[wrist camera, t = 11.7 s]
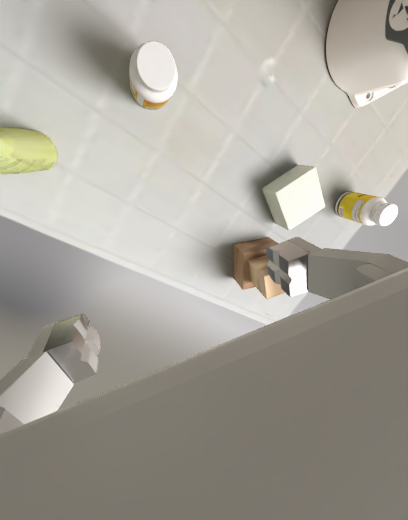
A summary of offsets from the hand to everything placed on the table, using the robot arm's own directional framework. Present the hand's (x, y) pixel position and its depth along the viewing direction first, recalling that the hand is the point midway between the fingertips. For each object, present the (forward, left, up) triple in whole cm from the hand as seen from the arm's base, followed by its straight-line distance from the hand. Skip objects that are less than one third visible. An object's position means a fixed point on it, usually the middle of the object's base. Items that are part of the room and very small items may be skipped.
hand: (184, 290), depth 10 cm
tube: (+12, -8, -31) cm, 35 cm away
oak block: (-16, +20, -26) cm, 37 cm away
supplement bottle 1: (-5, -12, -31) cm, 34 cm away
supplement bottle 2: (-39, +15, -31) cm, 52 cm away
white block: (-25, +9, -31) cm, 41 cm away
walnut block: (-16, +20, -31) cm, 41 cm away
